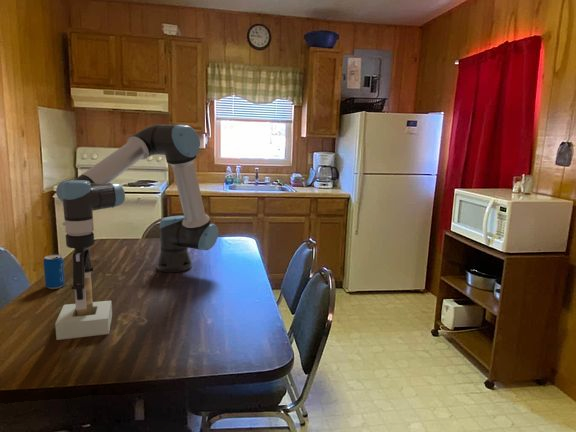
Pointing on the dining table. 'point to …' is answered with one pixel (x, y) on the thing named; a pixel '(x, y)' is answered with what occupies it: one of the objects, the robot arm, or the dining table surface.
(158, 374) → the dining table surface
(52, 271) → the beverage can
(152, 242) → the dining table surface
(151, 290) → the dining table surface
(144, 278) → the dining table surface
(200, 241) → the robot arm
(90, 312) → the oak peg
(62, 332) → the socket block
